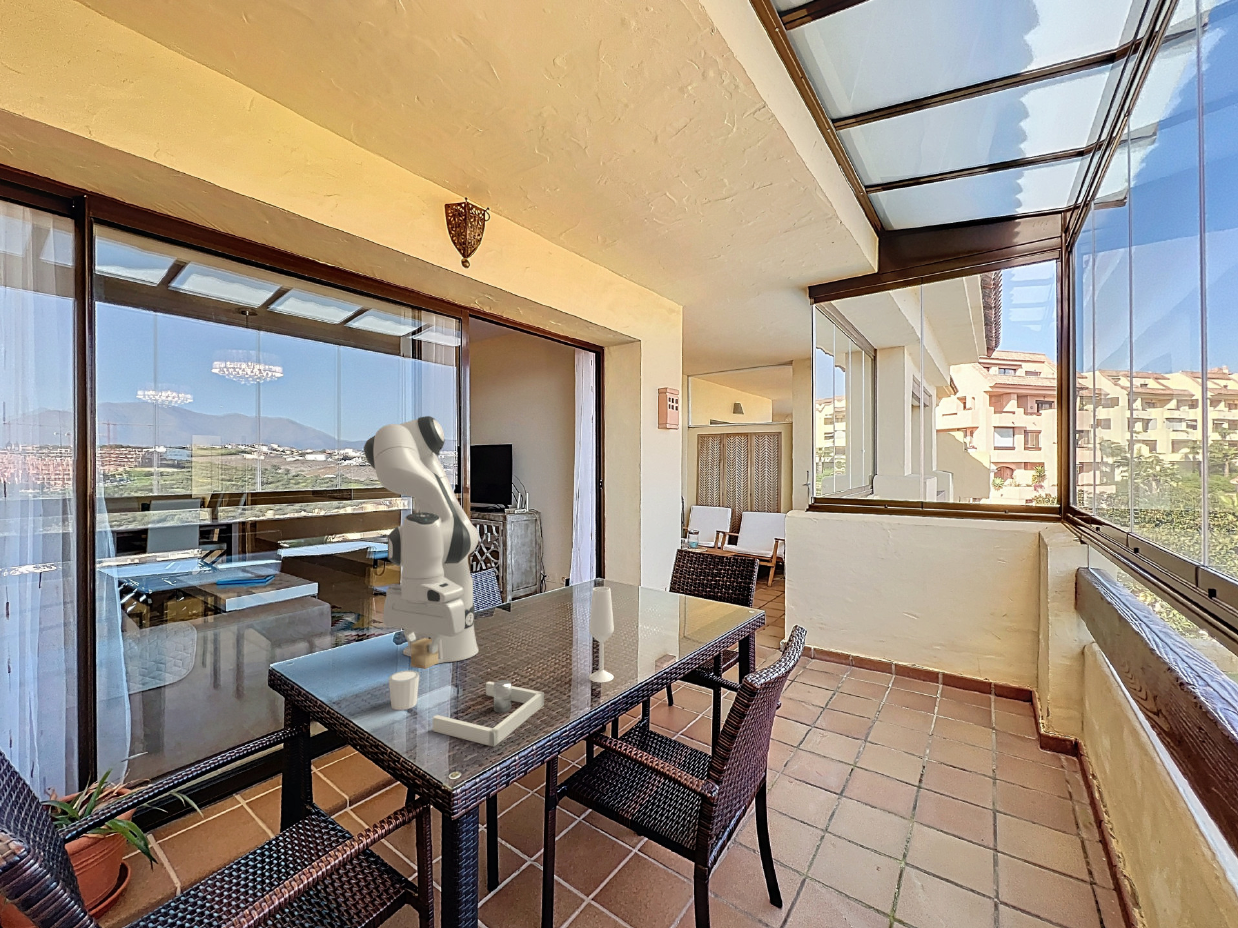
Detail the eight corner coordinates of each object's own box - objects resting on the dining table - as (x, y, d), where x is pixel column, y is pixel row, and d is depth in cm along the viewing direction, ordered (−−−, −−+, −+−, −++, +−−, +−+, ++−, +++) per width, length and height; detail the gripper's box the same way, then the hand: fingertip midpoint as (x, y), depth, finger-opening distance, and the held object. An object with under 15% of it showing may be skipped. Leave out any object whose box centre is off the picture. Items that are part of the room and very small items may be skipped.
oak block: (410, 666, 116) (411, 643, 116) (424, 660, 120) (424, 637, 120) (425, 669, 115) (425, 646, 115) (438, 662, 118) (438, 640, 118)
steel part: (490, 710, 125) (490, 685, 125) (500, 703, 128) (500, 678, 128) (504, 714, 123) (504, 688, 123) (514, 706, 127) (514, 681, 127)
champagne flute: (597, 684, 139) (598, 593, 139) (584, 675, 145) (584, 588, 144) (618, 678, 143) (619, 589, 143) (604, 670, 149) (604, 584, 148)
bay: (432, 731, 115) (432, 717, 115) (488, 693, 134) (488, 681, 134) (494, 746, 109) (494, 732, 109) (544, 704, 128) (544, 692, 128)
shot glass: (384, 704, 128) (384, 675, 128) (412, 695, 133) (412, 667, 132) (395, 714, 123) (395, 684, 123) (424, 704, 128) (424, 675, 128)
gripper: (375, 586, 118) (376, 648, 118) (449, 596, 110) (449, 662, 110) (397, 580, 123) (398, 639, 124) (469, 589, 116) (469, 652, 116)
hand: (423, 650), depth 117 cm, fingers closed on oak block, 4 cm apart
